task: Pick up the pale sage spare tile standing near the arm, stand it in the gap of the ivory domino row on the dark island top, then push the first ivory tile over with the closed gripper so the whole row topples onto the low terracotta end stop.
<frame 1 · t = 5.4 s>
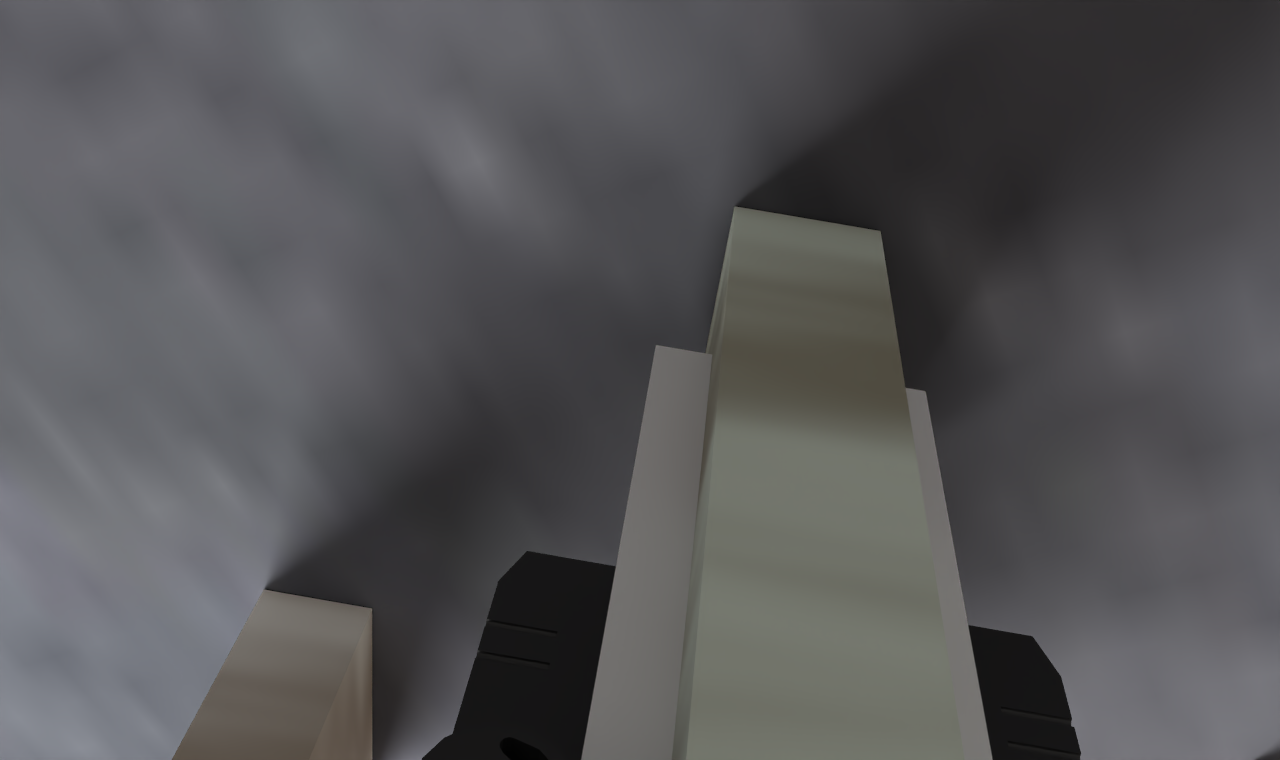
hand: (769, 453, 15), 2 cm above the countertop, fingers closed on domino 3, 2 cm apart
domino 3: (770, 370, 17), on the countertop, touching gripper
domino 1: (321, 690, 22), on the countertop
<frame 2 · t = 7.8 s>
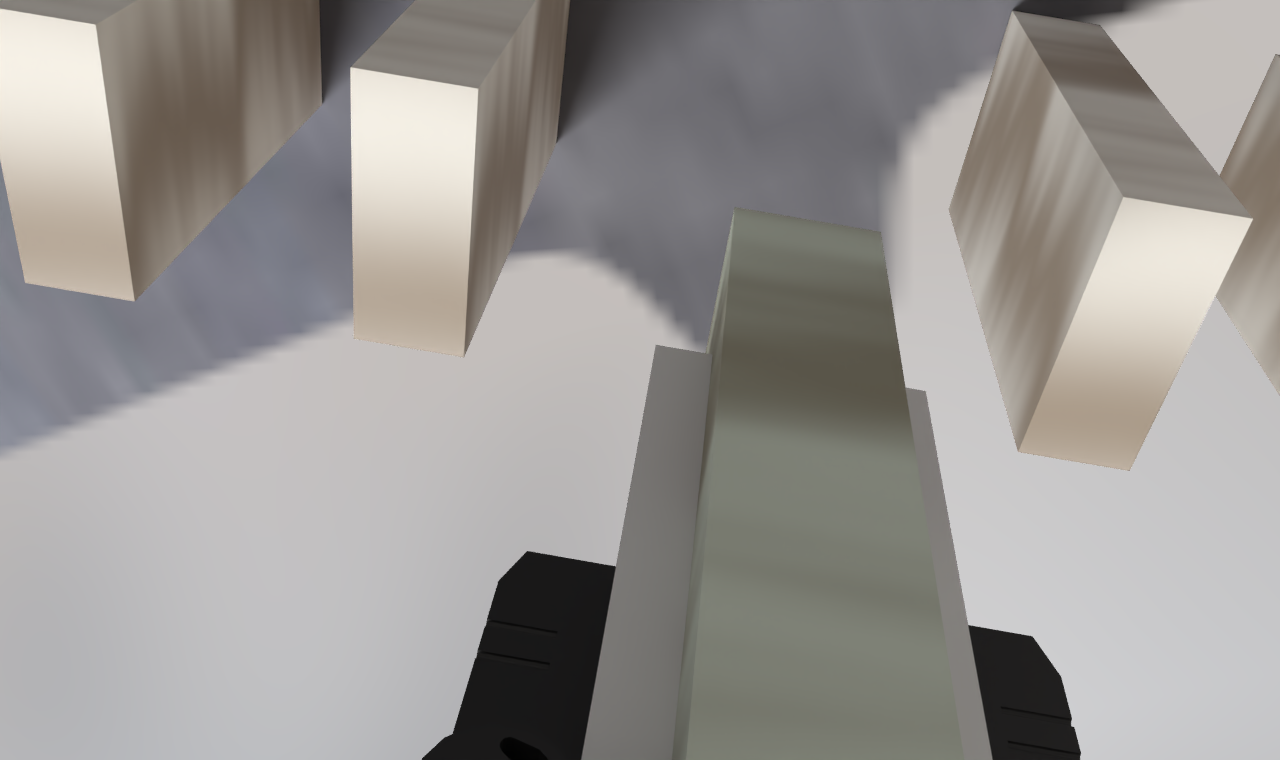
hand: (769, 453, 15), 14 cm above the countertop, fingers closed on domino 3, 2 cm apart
domino 4: (1020, 122, 27), on the countertop
domino 5: (1269, 164, 27), on the countertop
domino 3: (770, 371, 17), point 12 cm above the countertop, touching gripper
domino 2: (524, 39, 27), on the countertop
when the fingers open (2 cm above the countertop, at t = 10.5 s): domino 3 stays where it is, on the countertop.
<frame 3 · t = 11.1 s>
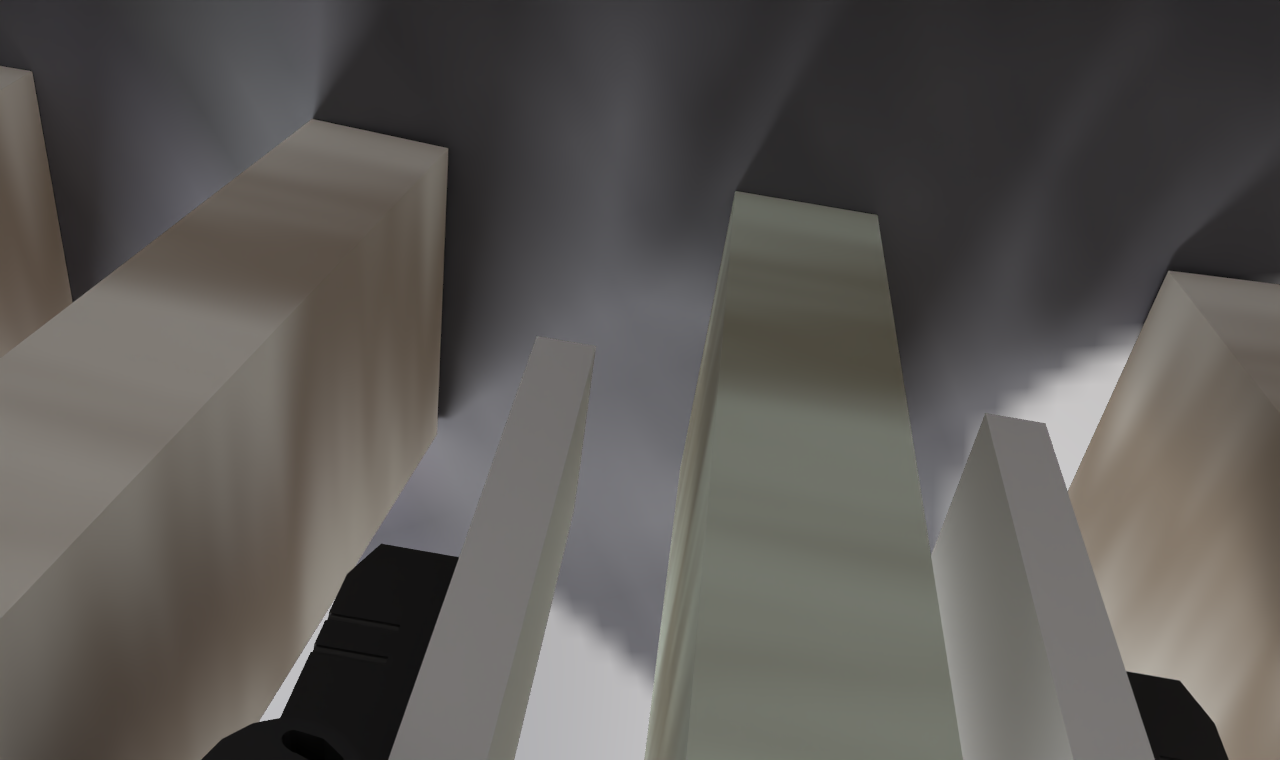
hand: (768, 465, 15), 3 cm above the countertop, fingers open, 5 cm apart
domino 4: (1166, 423, 17), on the countertop, tilted 6°, touching gripper
domino 3: (770, 352, 17), on the countertop
domino 2: (379, 288, 17), on the countertop, tilted 6°
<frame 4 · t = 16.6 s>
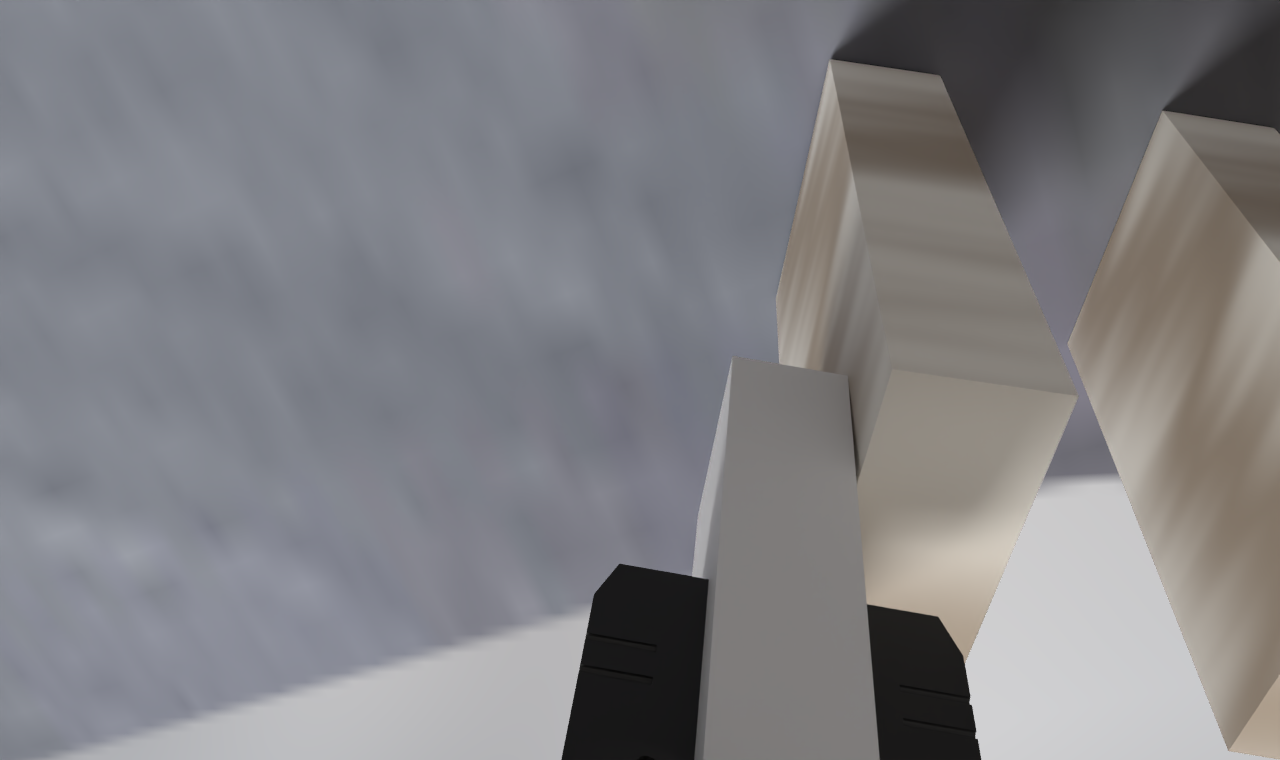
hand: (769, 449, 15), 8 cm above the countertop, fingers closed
domino 2: (1163, 243, 22), on the countertop
domino 1: (852, 194, 22), on the countertop, touching gripper
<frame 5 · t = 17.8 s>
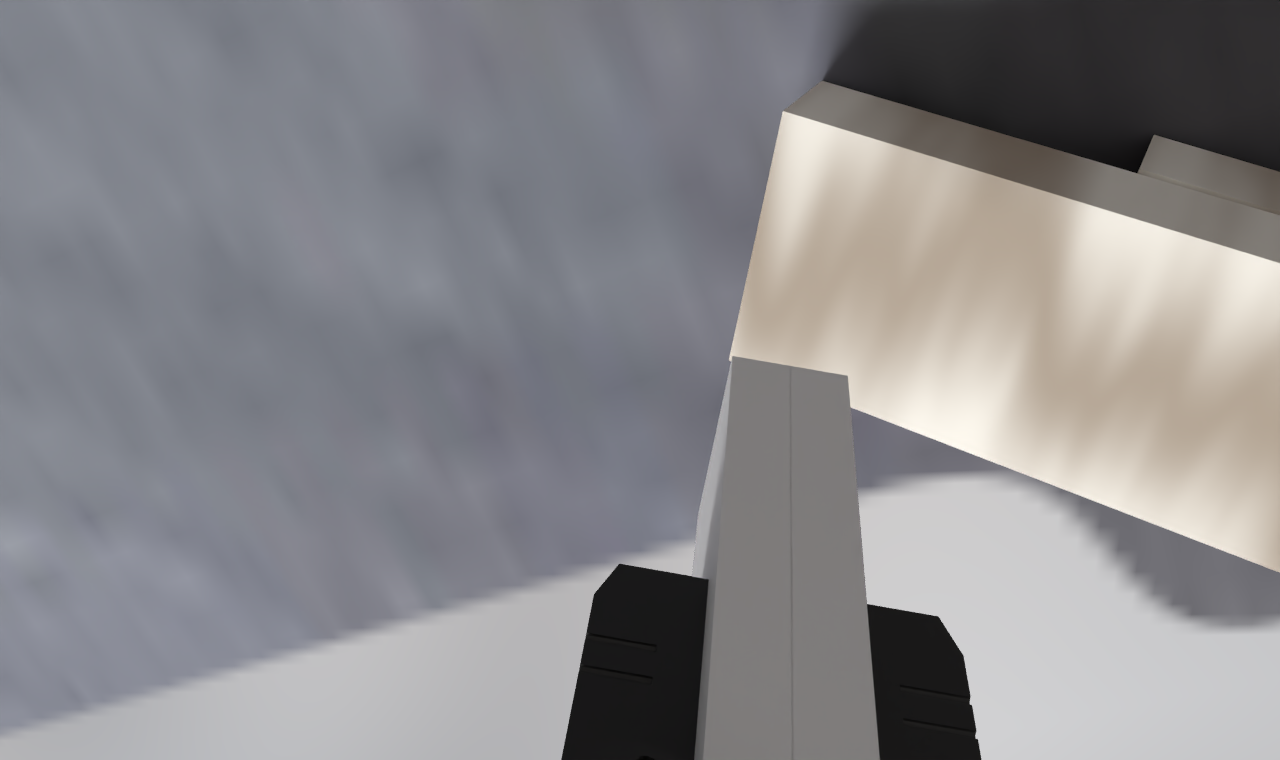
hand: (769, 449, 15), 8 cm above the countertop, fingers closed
domino 2: (1093, 277, 21), point 1 cm above the countertop, tilted 68°, touching domino 1, domino 3
domino 1: (774, 224, 21), point 1 cm above the countertop, tilted 69°, touching domino 2
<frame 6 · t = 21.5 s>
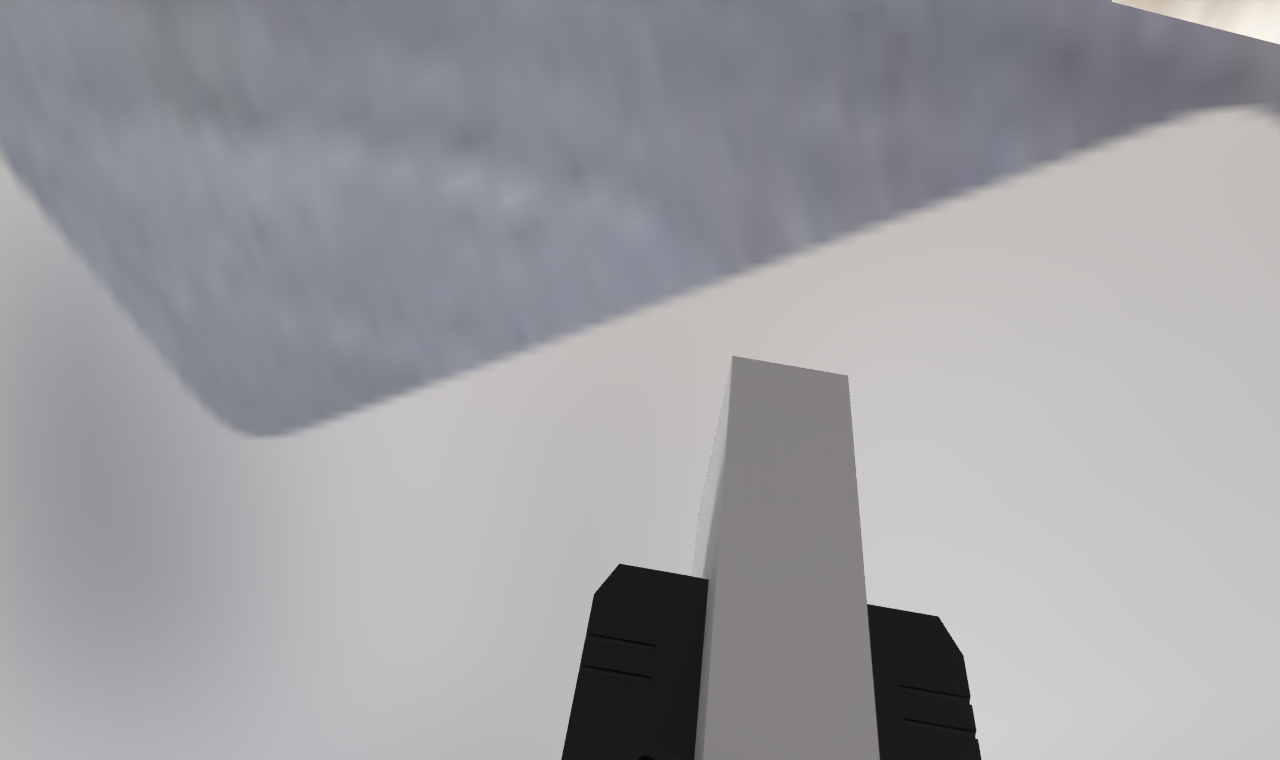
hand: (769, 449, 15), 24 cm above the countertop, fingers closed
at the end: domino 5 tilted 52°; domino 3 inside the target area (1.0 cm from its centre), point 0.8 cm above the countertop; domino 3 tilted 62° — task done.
